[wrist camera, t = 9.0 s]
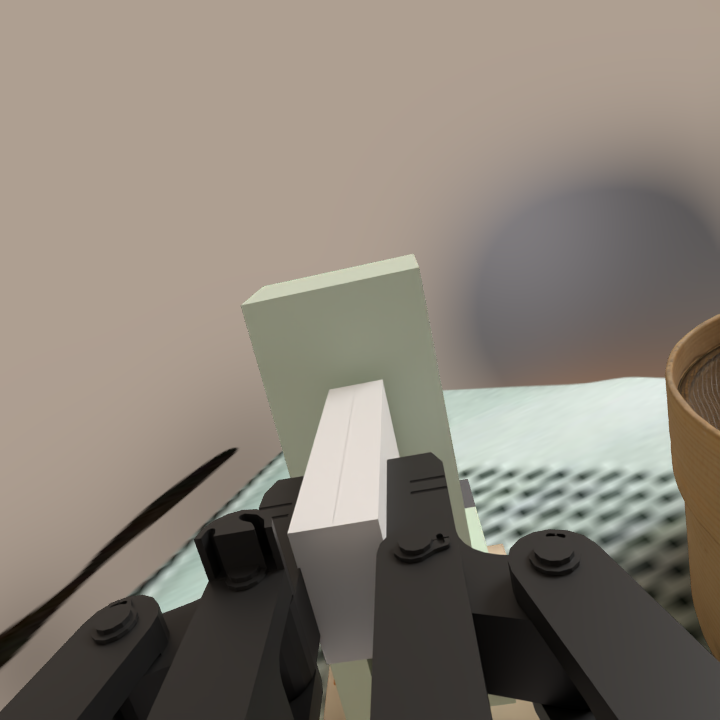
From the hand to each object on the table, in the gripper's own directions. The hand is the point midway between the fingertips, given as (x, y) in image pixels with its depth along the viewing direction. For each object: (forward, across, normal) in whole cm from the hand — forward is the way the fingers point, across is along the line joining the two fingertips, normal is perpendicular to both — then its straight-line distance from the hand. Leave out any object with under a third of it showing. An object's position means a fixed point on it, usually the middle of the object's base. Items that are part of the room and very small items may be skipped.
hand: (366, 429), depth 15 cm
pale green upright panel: (+2, 0, +12) cm, 12 cm away
